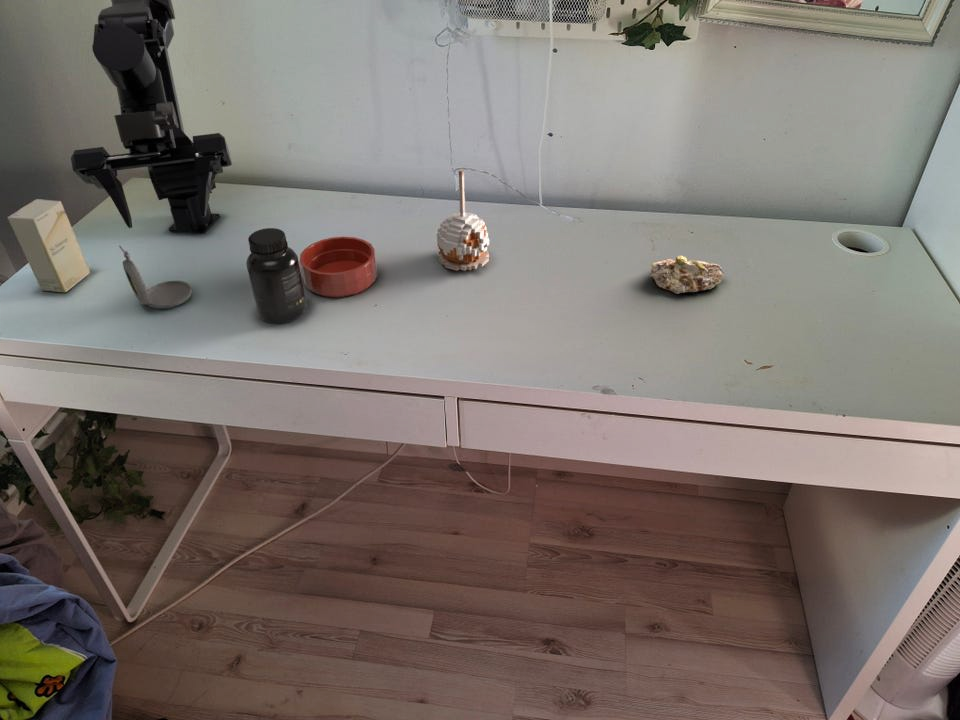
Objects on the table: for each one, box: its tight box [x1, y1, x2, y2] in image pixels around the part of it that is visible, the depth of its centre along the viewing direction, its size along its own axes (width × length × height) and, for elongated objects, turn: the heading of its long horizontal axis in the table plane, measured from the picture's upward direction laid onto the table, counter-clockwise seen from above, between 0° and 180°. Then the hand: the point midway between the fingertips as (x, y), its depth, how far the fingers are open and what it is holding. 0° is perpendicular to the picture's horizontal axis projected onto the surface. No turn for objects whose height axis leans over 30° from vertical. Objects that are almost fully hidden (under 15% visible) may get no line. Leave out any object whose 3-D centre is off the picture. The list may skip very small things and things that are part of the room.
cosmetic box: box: [7, 198, 91, 293], centre depth 105 cm, size 6×4×12 cm
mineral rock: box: [650, 255, 725, 295], centre depth 106 cm, size 11×4×8 cm
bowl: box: [299, 236, 378, 298], centre depth 107 cm, size 11×11×4 cm
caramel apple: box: [436, 168, 490, 272], centre depth 108 cm, size 8×8×15 cm
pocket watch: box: [118, 245, 193, 310], centre depth 102 cm, size 8×8×10 cm
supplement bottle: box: [245, 227, 308, 324], centre depth 98 cm, size 7×7×12 cm
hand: (167, 221), depth 94 cm, fingers open, 9 cm apart
